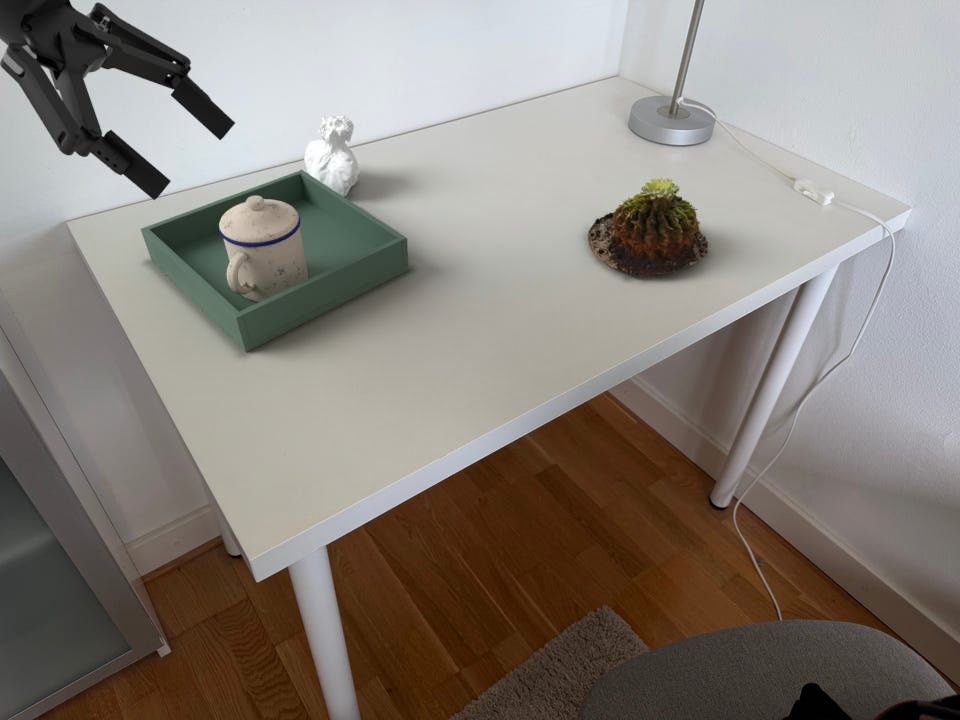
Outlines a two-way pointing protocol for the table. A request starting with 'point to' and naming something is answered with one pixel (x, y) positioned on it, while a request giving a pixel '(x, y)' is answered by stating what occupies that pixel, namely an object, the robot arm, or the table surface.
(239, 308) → the tray
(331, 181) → the bust
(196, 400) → the table surface
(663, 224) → the cactus
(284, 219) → the teacup with lid
